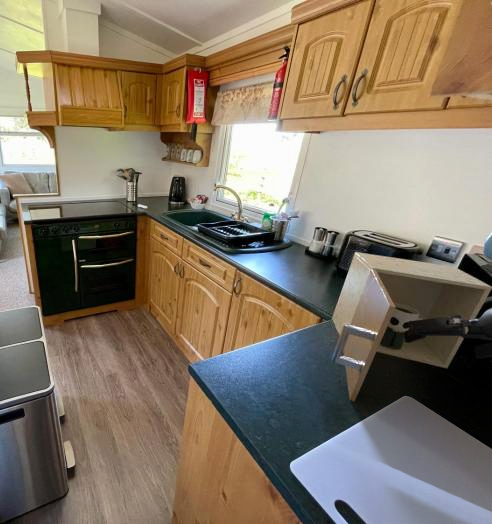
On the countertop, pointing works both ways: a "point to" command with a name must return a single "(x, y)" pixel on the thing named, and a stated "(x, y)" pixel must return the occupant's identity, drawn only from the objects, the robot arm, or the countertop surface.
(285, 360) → the countertop surface
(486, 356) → the robot arm
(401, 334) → the character mug
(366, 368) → the cupboard door
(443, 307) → the cupboard
